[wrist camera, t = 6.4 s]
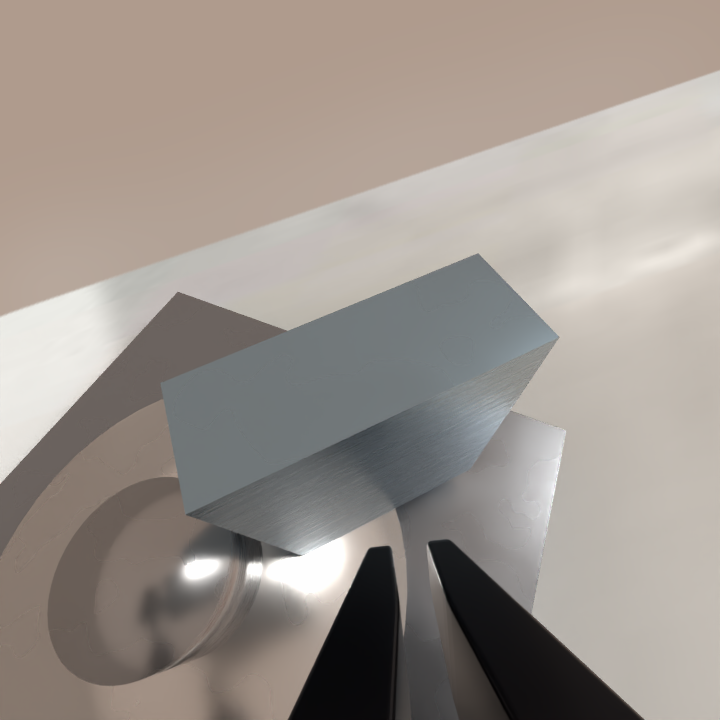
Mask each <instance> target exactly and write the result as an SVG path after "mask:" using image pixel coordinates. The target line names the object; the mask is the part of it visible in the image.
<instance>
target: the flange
mask: <svg viewBox="0 0 720 720" xmlns="http://www.w3.org/2000/svg"><path fill="white" fill-rule="evenodd" d="M558 338H559V336H558V335H557V334H556V333H555V332H554V331H553V330H552V329H551V328H550V327H549V326H548V325H547V324H546V323H545V322H544V321H543V320H542V319H541V318H540V317H539V316H538V315H537V314H536V313H535V311H534V310H533V309H532V308H531V307H530V306H529V305H528V304H527V303H526V302H525V301H524V300H523V299H522V298H521V297H520V296H519V295H518V294H517V293H516V292H515V291H514V290H513V289H512V288H511V287H510V286H509V285H508V284H507V283H506V282H505V281H504V280H503V278H502V277H501V276H500V275H499V274H498V273H497V272H496V271H495V270H494V269H493V268H492V267H491V266H490V265H489V264H488V263H487V262H486V261H485V260H484V259H483V258H482V257H481V256H480V255H479V254H475V255H473V256H471V257H468V258H466V259H463V260H461V261H458V262H456V263H453V264H451V265H449V266H446V267H444V268H441V269H439V270H436V271H434V272H431V273H429V274H426V275H424V276H422V277H419V278H417V279H414V280H412V281H409V282H407V283H404V284H402V285H400V286H397V287H395V288H392V289H390V290H387V291H385V292H382V293H380V294H377V295H375V296H373V297H370V298H368V299H365V300H363V301H360V302H358V303H355V304H353V305H350V306H348V307H346V308H343V309H341V310H338V311H336V312H333V313H331V314H328V315H326V316H324V317H321V318H319V319H316V320H314V321H311V322H309V323H306V324H304V325H301V326H299V327H297V328H294V329H292V330H289V331H287V332H284V333H282V334H279V335H277V336H275V337H272V338H270V339H267V340H265V341H262V342H260V343H257V344H255V345H252V346H250V347H248V348H245V349H243V350H240V351H238V352H235V353H233V354H230V355H228V356H226V357H223V358H221V359H218V360H216V361H213V362H211V363H208V364H206V365H203V366H201V367H199V368H196V369H194V370H191V371H189V372H186V373H184V374H181V375H179V376H176V377H174V378H172V379H169V380H167V381H164V382H162V383H160V384H161V389H162V394H163V399H161V400H159V401H157V402H155V403H153V404H151V405H148V406H146V407H144V408H142V409H140V410H138V411H137V412H135V413H133V414H131V415H130V416H128V417H126V418H125V419H123V420H121V421H120V422H118V423H117V424H115V425H114V426H112V427H111V428H110V429H108V430H107V431H105V432H104V433H103V434H101V435H100V436H99V437H97V438H96V439H95V440H94V441H92V442H91V443H90V444H89V445H88V446H87V447H86V448H84V449H83V450H82V451H81V452H80V453H79V454H77V455H76V456H75V457H74V458H73V459H72V460H71V461H70V462H69V463H68V464H67V465H66V466H65V467H64V468H63V469H62V470H61V471H60V473H59V474H58V475H57V476H56V477H55V478H54V479H53V480H52V482H51V483H50V484H49V485H48V486H47V488H46V489H45V490H44V491H43V492H42V494H41V495H40V496H39V497H38V498H37V500H36V501H35V503H34V504H33V505H32V507H31V508H30V510H29V511H28V513H27V514H26V515H25V517H24V518H23V520H22V521H21V523H20V524H19V526H18V527H17V529H16V531H15V532H14V534H13V536H12V538H11V539H10V541H9V543H8V544H7V546H6V548H5V550H4V551H3V553H2V555H1V557H0V720H288V718H289V716H290V713H291V711H292V709H293V707H294V705H295V703H296V701H297V699H298V696H299V694H300V692H301V690H302V688H303V686H304V684H305V682H306V679H307V677H308V675H309V673H310V671H311V669H312V667H313V665H314V662H315V660H316V658H317V656H318V654H319V652H320V650H321V648H322V645H323V643H324V641H325V639H326V637H327V635H328V633H329V631H330V628H331V626H332V624H333V622H334V620H335V618H336V616H337V614H338V611H339V609H340V607H341V605H342V603H343V601H344V599H345V597H346V594H347V592H348V590H349V588H350V586H351V584H352V582H353V580H354V577H355V575H356V573H357V571H358V569H359V567H360V565H361V563H362V560H363V558H364V556H365V554H366V552H367V550H368V549H369V548H371V547H378V546H390V547H391V548H392V552H393V559H394V566H395V572H396V579H397V586H398V593H399V601H400V611H401V620H402V629H403V637H404V631H405V620H406V606H407V573H406V557H405V550H404V544H403V538H402V531H401V527H400V523H399V520H398V516H397V512H396V509H395V508H397V507H399V506H401V505H403V504H405V503H407V502H409V501H410V500H412V499H414V498H416V497H418V496H420V495H422V494H424V493H426V492H428V491H430V490H431V489H433V488H435V487H437V486H439V485H441V484H443V483H445V482H447V481H449V480H451V479H452V478H454V477H456V476H458V475H460V474H462V473H464V472H466V471H468V470H470V469H471V467H472V466H473V464H474V463H475V461H476V460H477V458H478V457H479V455H480V454H481V452H482V451H483V450H484V448H485V447H486V445H487V444H488V442H489V441H490V439H491V438H492V436H493V435H494V433H495V432H496V430H497V429H498V427H499V426H500V424H501V423H502V421H503V420H504V418H505V417H506V415H507V414H508V412H509V411H510V410H511V408H512V407H513V405H514V404H515V402H516V401H517V399H518V398H519V396H520V395H521V393H522V392H523V390H524V389H525V387H526V386H527V384H528V383H529V381H530V380H531V378H532V377H533V375H534V374H535V372H536V371H537V370H538V368H539V367H540V365H541V364H542V362H543V361H544V359H545V358H546V356H547V355H548V353H549V352H550V350H551V349H552V347H553V346H554V344H555V343H556V341H557V340H558Z"/></svg>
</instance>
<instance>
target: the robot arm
mask: <svg viewBox="0 0 720 720" xmlns="http://www.w3.org/2000/svg"><path fill="white" fill-rule="evenodd" d="M427 557H428V569H429V580H430V588H431V594H432V599H433V604H434V609H435V614H436V619H437V624H438V629H439V634H440V639H441V644H442V648H443V653H444V658H445V663H446V668H447V673H448V678H449V683H450V687H451V691H452V696H453V700H454V703H455V707H456V710H457V714H458V718H459V720H644V719H643V718H642V717H641V716H640V715H639V714H638V713H637V712H636V711H635V710H634V709H632V708H631V707H630V706H629V705H628V704H627V703H626V702H625V701H624V700H623V699H622V698H621V697H620V696H618V695H617V694H616V693H615V692H614V691H613V690H612V689H611V688H610V687H609V686H608V685H607V684H606V683H604V682H603V681H602V680H601V679H600V678H599V677H598V676H597V675H596V674H595V673H594V672H593V671H591V670H590V669H589V668H588V667H587V666H586V665H585V664H584V663H583V662H582V661H581V660H580V659H579V658H577V657H576V656H575V655H574V654H573V653H572V652H571V651H570V650H569V649H568V648H567V647H566V646H565V645H563V644H562V643H561V642H560V641H559V640H558V639H557V638H556V637H555V636H554V635H553V634H552V633H551V632H549V631H548V630H547V629H546V628H545V627H544V626H543V625H542V624H541V623H540V622H539V621H538V620H537V619H535V618H534V617H533V616H532V615H531V614H530V613H529V612H528V611H527V610H526V609H525V608H524V607H523V606H521V605H520V604H519V603H518V602H517V601H516V600H515V599H514V598H513V597H512V596H511V595H510V594H509V593H507V592H506V591H505V590H504V589H503V588H502V587H501V586H500V585H499V584H498V583H497V582H496V581H495V580H493V579H492V578H491V577H490V576H489V575H488V574H487V573H486V572H485V571H484V570H483V569H482V568H481V567H479V566H478V565H477V564H476V563H475V562H474V561H473V560H472V559H471V558H470V557H469V556H468V555H466V554H465V553H464V552H463V551H462V550H461V549H460V548H459V547H458V546H457V545H456V544H455V543H454V542H452V541H451V540H449V539H442V540H433V541H429V542H428V543H427ZM288 720H411V706H410V695H409V685H408V676H407V666H406V657H405V648H404V638H403V629H402V620H401V611H400V601H399V593H398V586H397V579H396V572H395V566H394V559H393V552H392V548H391V547H390V546H378V547H371V548H369V549H368V550H367V552H366V554H365V556H364V558H363V560H362V563H361V565H360V567H359V569H358V571H357V573H356V575H355V577H354V580H353V582H352V584H351V586H350V588H349V590H348V592H347V594H346V597H345V599H344V601H343V603H342V605H341V607H340V609H339V611H338V614H337V616H336V618H335V620H334V622H333V624H332V626H331V628H330V631H329V633H328V635H327V637H326V639H325V641H324V643H323V645H322V648H321V650H320V652H319V654H318V656H317V658H316V660H315V662H314V665H313V667H312V669H311V671H310V673H309V675H308V677H307V679H306V682H305V684H304V686H303V688H302V690H301V692H300V694H299V696H298V699H297V701H296V703H295V705H294V707H293V709H292V711H291V713H290V716H289V718H288Z"/></svg>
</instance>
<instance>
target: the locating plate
mask: <svg viewBox="0 0 720 720" xmlns="http://www.w3.org/2000/svg"><path fill="white" fill-rule="evenodd" d="M284 332H287V331H286V330H283V329H280V328H278V327H275V326H272V325H269V324H266V323H264V322H261V321H258V320H255V319H252V318H250V317H247V316H244V315H241V314H238V313H236V312H233V311H230V310H227V309H224V308H222V307H219V306H216V305H213V304H210V303H208V302H205V301H202V300H199V299H196V298H194V297H191V296H188V295H185V294H182V293H180V292H177V293H176V294H175V296H174V297H173V298H172V299H171V300H170V301H169V302H168V303H167V304H166V305H165V306H164V307H163V309H162V310H161V311H160V312H159V313H158V314H157V315H156V316H155V317H154V318H153V319H152V320H151V322H150V323H149V324H148V325H147V326H146V327H145V328H144V329H143V330H142V331H141V332H140V333H139V335H138V336H137V337H136V338H135V339H134V340H133V341H132V342H131V343H130V344H129V345H128V346H127V348H126V349H125V350H124V351H123V352H122V353H121V354H120V355H119V356H118V357H117V358H116V359H115V361H114V362H113V363H112V364H111V365H110V366H109V367H108V368H107V369H106V370H105V371H104V372H103V374H102V375H101V376H100V377H99V378H98V379H97V380H96V381H95V382H94V383H93V384H92V385H91V387H90V388H89V389H88V390H87V391H86V392H85V393H84V394H83V395H82V396H81V397H80V398H79V400H78V401H77V402H76V403H75V404H74V405H73V406H72V407H71V408H70V409H69V410H68V411H67V413H66V414H65V415H64V416H63V417H62V418H61V419H60V420H59V421H58V422H57V423H56V424H55V426H54V427H53V428H52V429H51V430H50V431H49V432H48V433H47V434H46V435H45V436H44V437H43V438H42V440H41V441H40V442H39V443H38V444H37V445H36V446H35V447H34V448H33V449H32V450H31V451H30V453H29V454H28V455H27V456H26V457H25V458H24V459H23V460H22V461H21V462H20V463H19V464H18V466H17V467H16V468H15V469H14V470H13V471H12V472H11V473H10V474H9V475H8V476H7V477H6V479H5V480H4V481H3V482H2V483H1V484H0V557H1V555H2V553H3V551H4V550H5V548H6V546H7V544H8V543H9V541H10V539H11V538H12V536H13V534H14V532H15V531H16V529H17V527H18V526H19V524H20V523H21V521H22V520H23V518H24V517H25V515H26V514H27V513H28V511H29V510H30V508H31V507H32V505H33V504H34V503H35V501H36V500H37V498H38V497H39V496H40V495H41V494H42V492H43V491H44V490H45V489H46V488H47V486H48V485H49V484H50V483H51V482H52V480H53V479H54V478H55V477H56V476H57V475H58V474H59V473H60V471H61V470H62V469H63V468H64V467H65V466H66V465H67V464H68V463H69V462H70V461H71V460H72V459H73V458H74V457H75V456H76V455H77V454H79V453H80V452H81V451H82V450H83V449H84V448H86V447H87V446H88V445H89V444H90V443H91V442H92V441H94V440H95V439H96V438H97V437H99V436H100V435H101V434H103V433H104V432H105V431H107V430H108V429H110V428H111V427H112V426H114V425H115V424H117V423H118V422H120V421H121V420H123V419H125V418H126V417H128V416H130V415H131V414H133V413H135V412H137V411H138V410H140V409H142V408H144V407H146V406H148V405H151V404H153V403H155V402H157V401H159V400H161V399H163V394H162V389H161V384H160V383H162V382H164V381H167V380H169V379H172V378H174V377H176V376H179V375H181V374H184V373H186V372H189V371H191V370H194V369H196V368H199V367H201V366H203V365H206V364H208V363H211V362H213V361H216V360H218V359H221V358H223V357H226V356H228V355H230V354H233V353H235V352H238V351H240V350H243V349H245V348H248V347H250V346H252V345H255V344H257V343H260V342H262V341H265V340H267V339H270V338H272V337H275V336H277V335H279V334H282V333H284ZM565 434H566V430H563V429H561V428H558V427H555V426H552V425H549V424H547V423H544V422H541V421H538V420H535V419H533V418H530V417H527V416H524V415H521V414H519V413H516V412H513V411H509V412H508V414H507V415H506V417H505V418H504V420H503V421H502V423H501V424H500V426H499V427H498V429H497V430H496V432H495V433H494V435H493V436H492V438H491V439H490V441H489V442H488V444H487V445H486V447H485V448H484V450H483V451H482V452H481V454H480V455H479V457H478V458H477V460H476V461H475V463H474V464H473V466H472V467H471V469H470V470H468V471H466V472H464V473H462V474H460V475H458V476H456V477H454V478H452V479H451V480H449V481H447V482H445V483H443V484H441V485H439V486H437V487H435V488H433V489H431V490H430V491H428V492H426V493H424V494H422V495H420V496H418V497H416V498H414V499H412V500H410V501H409V502H407V503H405V504H403V505H401V506H399V507H397V508H395V509H396V512H397V516H398V520H399V523H400V527H401V531H402V538H403V544H404V550H405V557H406V573H407V606H406V620H405V631H404V637H403V638H404V648H405V657H406V666H407V676H408V685H409V695H410V706H411V720H459V718H458V714H457V710H456V707H455V703H454V700H453V696H452V691H451V687H450V683H449V678H448V673H447V668H446V663H445V658H444V653H443V648H442V644H441V639H440V634H439V629H438V624H437V619H436V614H435V609H434V604H433V599H432V594H431V588H430V580H429V569H428V557H427V543H428V542H429V541H433V540H442V539H449V540H451V541H452V542H454V543H455V544H456V545H457V546H458V547H459V548H460V549H461V550H462V551H463V552H464V553H465V554H466V555H468V556H469V557H470V558H471V559H472V560H473V561H474V562H475V563H476V564H477V565H478V566H479V567H481V568H482V569H483V570H484V571H485V572H486V573H487V574H488V575H489V576H490V577H491V578H492V579H493V580H495V581H496V582H497V583H498V584H499V585H500V586H501V587H502V588H503V589H504V590H505V591H506V592H507V593H509V594H510V595H511V596H512V597H513V598H514V599H515V600H516V601H517V602H518V603H519V604H520V605H521V606H523V607H524V608H525V609H526V610H527V611H528V612H529V613H530V614H531V613H532V608H533V602H534V597H535V592H536V587H537V581H538V576H539V571H540V566H541V560H542V555H543V550H544V545H545V539H546V534H547V529H548V524H549V518H550V513H551V508H552V503H553V497H554V492H555V487H556V482H557V476H558V471H559V466H560V461H561V455H562V450H563V445H564V440H565Z"/></svg>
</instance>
